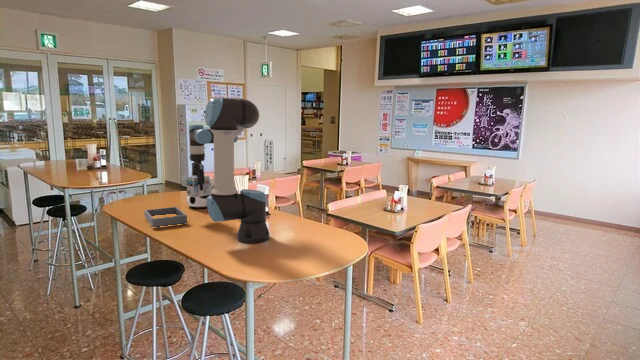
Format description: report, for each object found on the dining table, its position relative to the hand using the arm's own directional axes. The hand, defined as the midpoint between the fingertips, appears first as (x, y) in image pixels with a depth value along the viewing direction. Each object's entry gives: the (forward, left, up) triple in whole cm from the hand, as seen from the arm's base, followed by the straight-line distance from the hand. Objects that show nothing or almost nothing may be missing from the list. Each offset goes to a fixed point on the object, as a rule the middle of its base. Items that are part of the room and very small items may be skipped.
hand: (198, 194), depth 212 cm
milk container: (+29, -10, -14) cm, 34 cm away
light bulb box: (0, 0, -1) cm, 1 cm away
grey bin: (+4, +17, -14) cm, 22 cm away
